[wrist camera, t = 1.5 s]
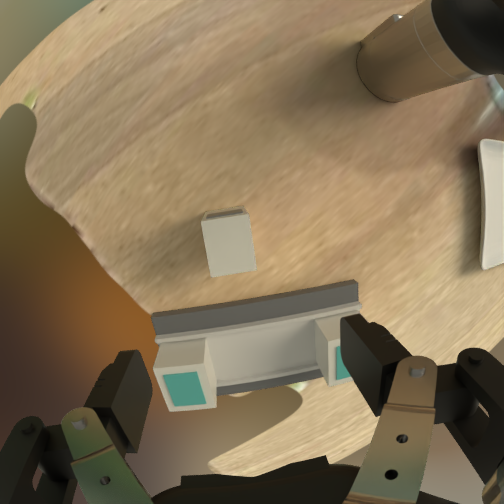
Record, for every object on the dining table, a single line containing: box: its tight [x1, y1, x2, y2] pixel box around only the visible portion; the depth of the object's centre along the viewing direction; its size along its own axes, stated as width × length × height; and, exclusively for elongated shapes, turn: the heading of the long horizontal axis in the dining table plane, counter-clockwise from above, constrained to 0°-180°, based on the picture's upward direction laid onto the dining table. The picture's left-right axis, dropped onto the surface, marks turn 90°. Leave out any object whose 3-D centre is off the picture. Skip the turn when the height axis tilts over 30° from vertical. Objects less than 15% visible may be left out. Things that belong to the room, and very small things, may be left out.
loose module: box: [201, 206, 257, 278], centre depth 33 cm, size 6×4×8 cm
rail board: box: [151, 279, 369, 412], centre depth 37 cm, size 14×27×8 cm, turn 98°
